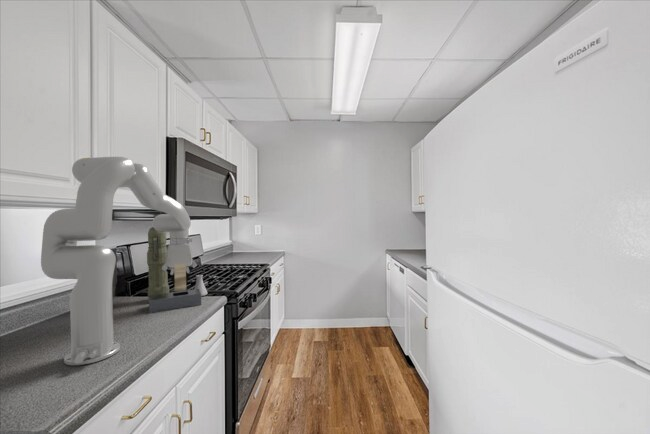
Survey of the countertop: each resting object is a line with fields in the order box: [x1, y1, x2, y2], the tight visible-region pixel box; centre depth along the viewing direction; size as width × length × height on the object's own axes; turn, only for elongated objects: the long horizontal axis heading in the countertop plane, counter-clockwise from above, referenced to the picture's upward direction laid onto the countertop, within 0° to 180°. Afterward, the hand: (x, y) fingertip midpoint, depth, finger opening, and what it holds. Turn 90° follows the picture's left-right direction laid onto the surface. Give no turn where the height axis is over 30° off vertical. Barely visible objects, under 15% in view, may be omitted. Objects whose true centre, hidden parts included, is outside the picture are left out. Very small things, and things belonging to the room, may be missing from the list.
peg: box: [174, 263, 187, 292], centre depth 130 cm, size 4×4×12 cm
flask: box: [193, 274, 208, 297], centre depth 145 cm, size 7×7×10 cm
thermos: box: [146, 226, 170, 303], centre depth 139 cm, size 9×12×35 cm
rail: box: [148, 289, 202, 314], centre depth 129 cm, size 10×20×5 cm, turn 119°
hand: (180, 282), depth 130 cm, fingers closed on peg, 4 cm apart
